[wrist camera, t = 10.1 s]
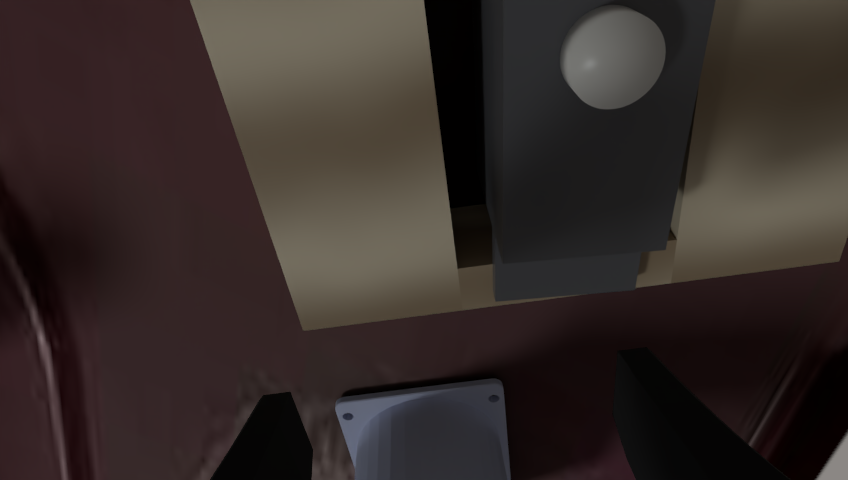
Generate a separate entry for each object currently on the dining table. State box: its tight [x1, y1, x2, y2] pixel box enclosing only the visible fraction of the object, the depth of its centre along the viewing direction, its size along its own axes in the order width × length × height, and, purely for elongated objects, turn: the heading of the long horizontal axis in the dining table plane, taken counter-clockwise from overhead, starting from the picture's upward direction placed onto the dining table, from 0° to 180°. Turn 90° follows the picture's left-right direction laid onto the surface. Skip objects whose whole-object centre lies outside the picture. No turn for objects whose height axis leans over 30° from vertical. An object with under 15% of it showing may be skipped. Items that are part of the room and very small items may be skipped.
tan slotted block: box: [190, 0, 848, 331], centre depth 17 cm, size 13×18×4 cm
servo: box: [472, 0, 716, 302], centre depth 15 cm, size 12×4×7 cm, turn 4°
